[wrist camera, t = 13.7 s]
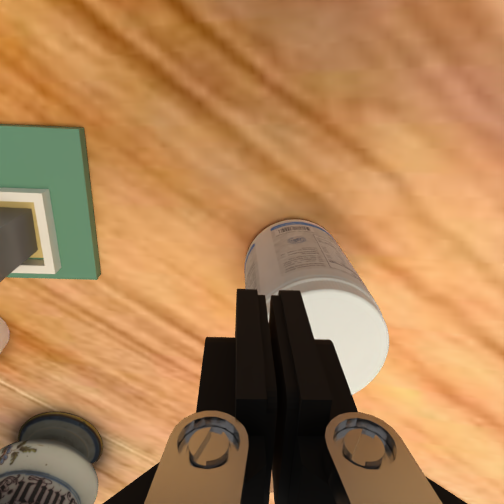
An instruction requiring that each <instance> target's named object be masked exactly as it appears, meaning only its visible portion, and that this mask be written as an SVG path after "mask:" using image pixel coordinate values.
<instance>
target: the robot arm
mask: <svg viewBox="0 0 504 504" xmlns="http://www.w3.org/2000/svg"><path fill="white" fill-rule="evenodd" d="M271 473H272V478H273V489H274V501H275V504H467V503H465V502H464V501H462V500H461V499H459V498H458V497H456V496H455V495H453V494H452V493H450V492H448V491H447V490H445V489H444V488H442V487H441V486H439V485H438V484H436V483H435V482H433V481H432V480H430V479H428V478H427V477H425V475H424V474H423V472H422V470H421V469H420V467H419V466H418V464H417V463H416V461H415V459H414V458H413V456H412V455H411V453H410V451H409V450H408V448H407V447H406V445H405V444H404V442H403V440H402V439H401V437H400V436H399V435H398V434H397V432H396V431H395V430H394V429H393V428H392V427H391V426H389V425H388V424H387V423H385V422H384V421H383V420H381V419H379V418H376V417H374V416H372V415H369V414H365V413H361V412H358V411H357V408H356V405H355V403H354V400H353V397H352V394H351V392H350V389H349V386H348V383H347V380H346V378H345V375H344V372H343V369H342V367H341V364H340V361H339V358H338V355H337V353H336V350H335V347H334V344H333V342H332V341H331V340H329V339H314V336H313V333H312V329H311V326H310V323H309V319H308V316H307V312H306V309H305V306H304V302H303V299H302V295H301V292H300V291H299V290H279V292H278V295H271V299H270V313H269V322H268V314H267V306H266V297H265V295H258V292H257V289H237V300H236V329H235V338H226V337H206V340H205V347H204V355H203V363H202V371H201V379H200V386H199V394H198V402H197V410H196V413H194V414H192V415H190V416H188V417H186V418H184V419H183V420H182V421H181V422H179V423H178V424H177V425H176V426H175V428H174V429H173V431H172V433H171V434H170V436H169V439H168V442H167V444H166V447H165V450H164V452H163V455H162V458H161V460H160V462H159V463H158V464H156V465H155V466H154V467H152V468H151V469H150V470H148V471H147V472H145V473H144V474H143V475H141V476H140V477H139V478H137V479H136V480H135V481H133V482H132V483H130V484H129V485H128V486H126V487H125V488H124V489H122V490H121V491H120V492H118V493H117V494H115V495H114V496H113V497H111V498H110V499H109V500H107V501H106V502H105V503H103V504H269V494H270V483H271Z"/></svg>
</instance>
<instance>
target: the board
mask: <svg viewBox="0 0 504 504" xmlns="http://www.w3.org/2000/svg"><path fill="white" fill-rule="evenodd" d="M0 207H10V208H28V209H32V215H33V221H34V228H35V234H36V241H37V247H38V250H37V251H36V252H35V253H34V254H33V255H31V256H30V257H29V258H28V259H27V260H26V261H24V262H23V263H22V264H21V265H20V266H18V267H17V268H16V269H15V270H14V271H13V272H11V273H10V274H9V275H8V276H7V277H15V278H54V279H93V280H97V279H98V277H99V276H100V275H101V271H100V263H99V254H98V245H97V237H96V228H95V219H94V211H93V202H92V193H91V185H90V176H89V167H88V159H87V150H86V141H85V133H84V128H81V127H58V126H35V125H12V124H0Z"/></svg>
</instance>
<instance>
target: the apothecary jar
mask: <svg viewBox="0 0 504 504" xmlns="http://www.w3.org/2000/svg"><path fill="white" fill-rule="evenodd" d="M102 449H103V444H102V439H101V437H100V435H99V433H98V431H97V430H96V429H95V428H94V426H92V425H91V424H90V423H89V422H87V421H86V420H84V419H82V418H80V417H78V416H75V415H72V414H68V413H62V412H49V413H44V414H40V415H37V416H34V417H33V418H31V419H29V420H28V421H27V422H26V423H25V424H24V425H23V426H22V428H21V430H20V432H19V436H18V442H16V443H13V444H10V445H8V446H6V447H4V448H2V449H1V450H0V504H94V502H95V499H96V496H97V492H98V478H97V474H96V471H95V469H94V467H93V465H92V464H91V463H94V462H95V461H97V460H98V459H99V458H100V456H101V453H102Z"/></svg>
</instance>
